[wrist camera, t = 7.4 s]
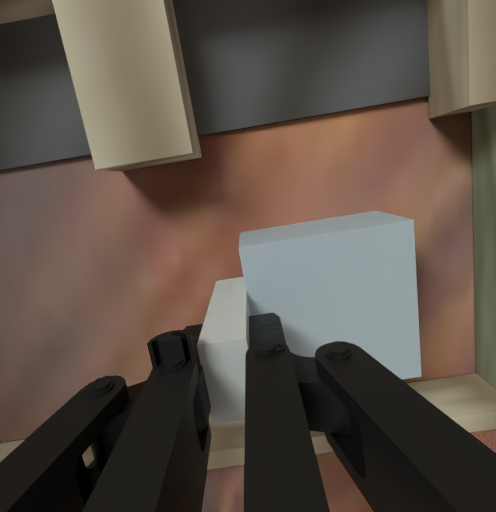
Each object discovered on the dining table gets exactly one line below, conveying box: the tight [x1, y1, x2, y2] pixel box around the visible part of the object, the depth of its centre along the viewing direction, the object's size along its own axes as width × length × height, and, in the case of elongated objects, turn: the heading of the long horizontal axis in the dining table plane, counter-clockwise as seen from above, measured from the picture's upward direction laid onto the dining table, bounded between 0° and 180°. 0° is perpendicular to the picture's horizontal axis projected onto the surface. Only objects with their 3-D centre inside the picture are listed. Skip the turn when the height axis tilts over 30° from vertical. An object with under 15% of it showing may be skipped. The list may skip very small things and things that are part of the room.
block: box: [239, 211, 422, 380], centre depth 16 cm, size 7×7×4 cm
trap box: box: [0, 0, 496, 470], centre depth 16 cm, size 32×23×3 cm
